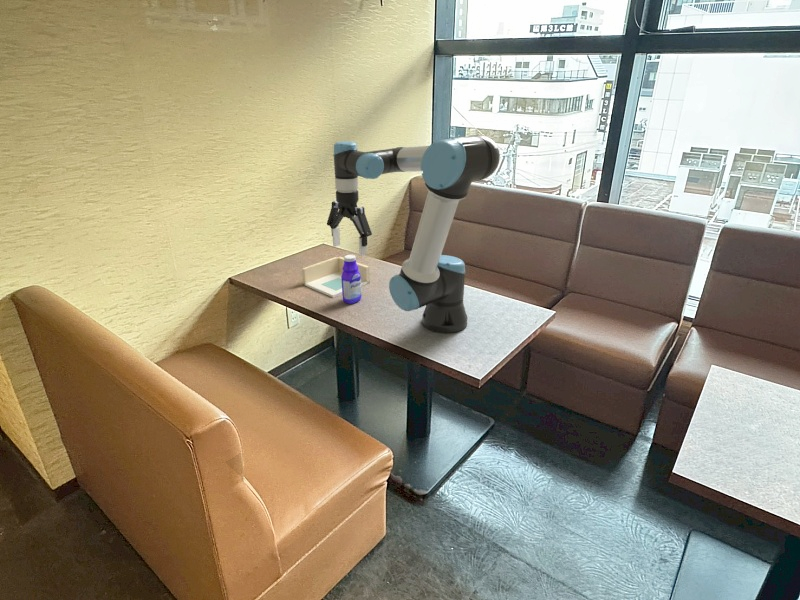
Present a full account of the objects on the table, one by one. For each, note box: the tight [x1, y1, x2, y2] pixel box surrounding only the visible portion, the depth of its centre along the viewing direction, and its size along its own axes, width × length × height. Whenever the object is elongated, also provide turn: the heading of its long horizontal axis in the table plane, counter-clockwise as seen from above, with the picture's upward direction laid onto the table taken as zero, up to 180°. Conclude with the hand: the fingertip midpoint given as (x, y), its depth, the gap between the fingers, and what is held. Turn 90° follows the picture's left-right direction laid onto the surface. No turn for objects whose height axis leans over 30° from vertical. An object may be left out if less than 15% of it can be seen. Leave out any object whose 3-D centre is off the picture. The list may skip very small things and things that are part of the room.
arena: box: [301, 255, 370, 299], centre depth 198 cm, size 18×19×7 cm
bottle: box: [341, 254, 363, 305], centre depth 182 cm, size 7×6×17 cm
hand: (349, 250), depth 178 cm, fingers open, 13 cm apart
